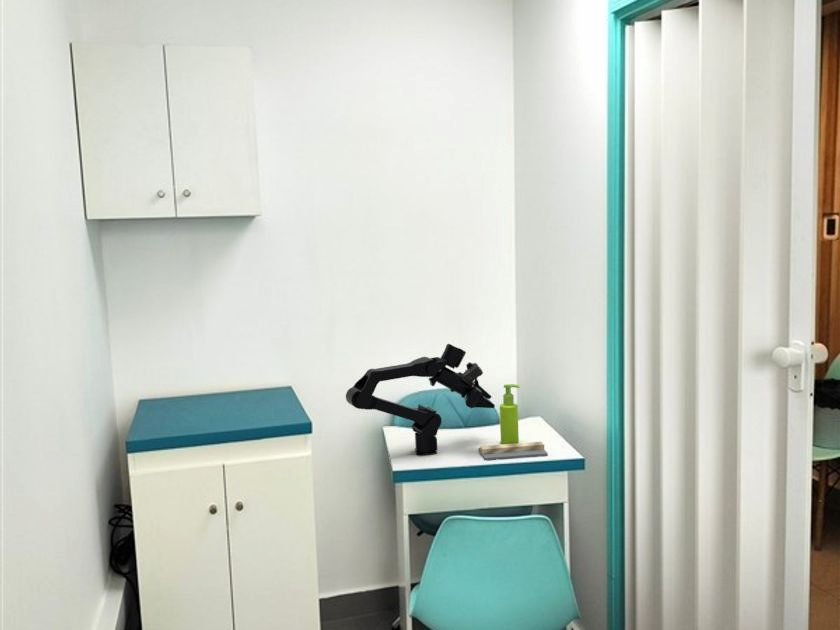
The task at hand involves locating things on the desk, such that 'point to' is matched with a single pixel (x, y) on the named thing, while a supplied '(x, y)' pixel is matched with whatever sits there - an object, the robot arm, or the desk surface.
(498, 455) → the base board
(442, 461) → the desk surface
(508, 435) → the soap dispenser
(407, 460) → the desk surface
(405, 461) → the desk surface
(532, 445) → the ridge
